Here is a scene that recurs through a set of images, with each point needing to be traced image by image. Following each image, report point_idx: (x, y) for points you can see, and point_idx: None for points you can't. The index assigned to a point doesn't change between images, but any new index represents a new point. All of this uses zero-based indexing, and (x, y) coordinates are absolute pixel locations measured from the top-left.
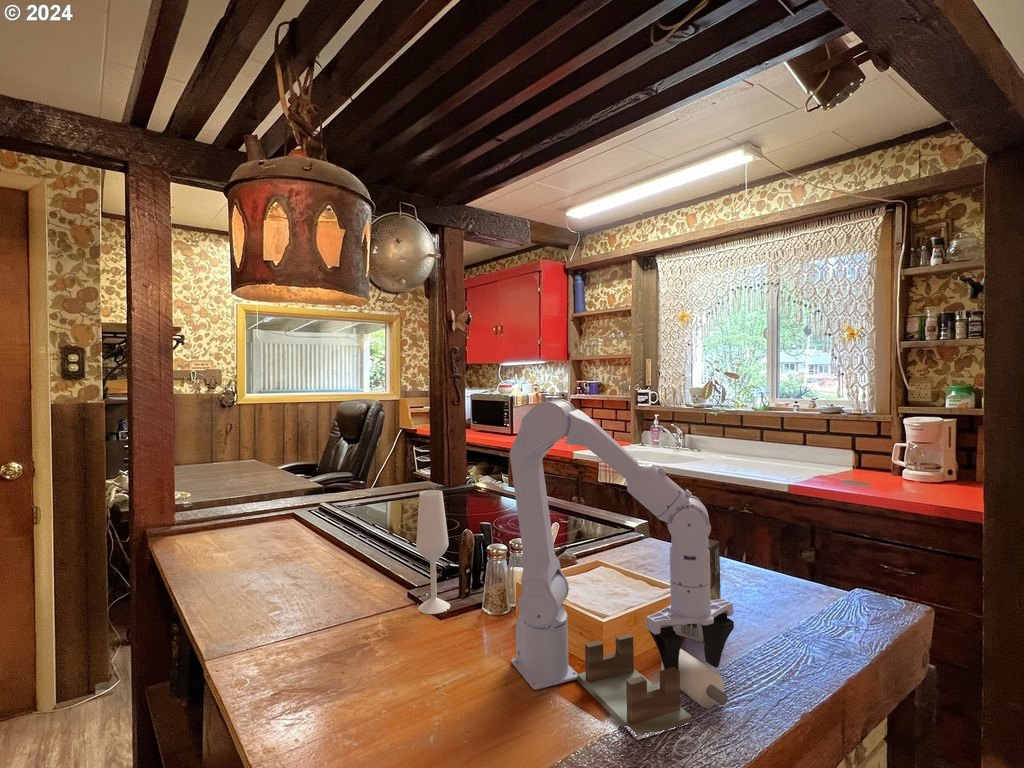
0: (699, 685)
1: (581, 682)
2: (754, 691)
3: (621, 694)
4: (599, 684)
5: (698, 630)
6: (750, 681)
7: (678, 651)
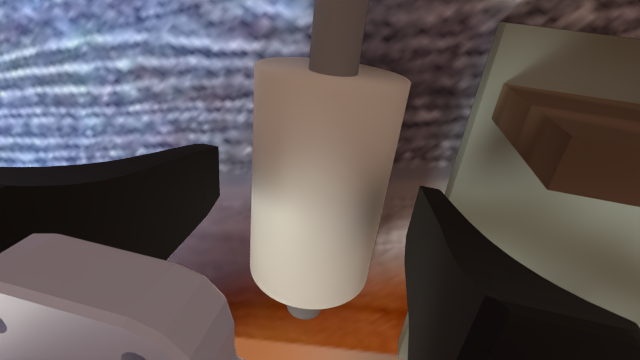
0: (393, 87)
1: None
2: (145, 39)
3: (587, 272)
4: None
5: None
6: (121, 88)
7: (461, 252)
